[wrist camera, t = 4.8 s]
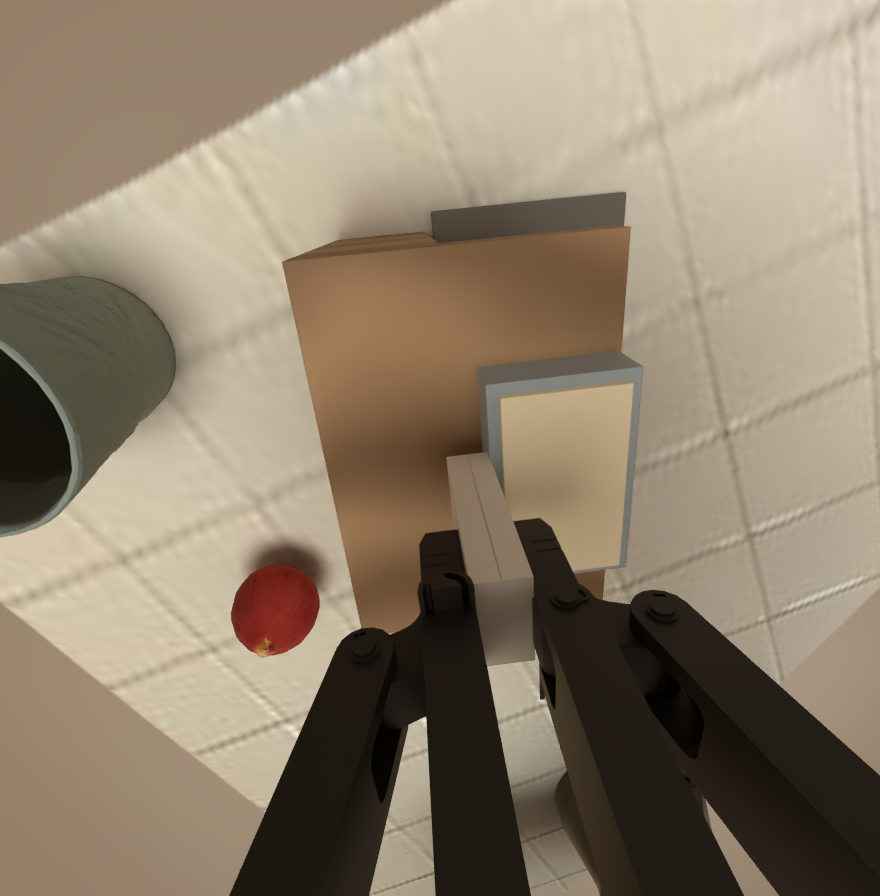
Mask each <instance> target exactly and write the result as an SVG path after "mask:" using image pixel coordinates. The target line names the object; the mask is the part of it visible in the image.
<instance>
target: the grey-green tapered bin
mask: <svg viewBox="0 0 880 896" xmlns="http://www.w3.org/2000/svg"><path fill="white" fill-rule="evenodd" d="M174 375H175V350H174V348H173V345H172V343H171V340H170V338H169V335H168V333H167V331H166V330H165V329H164V327H163V323H162V322H161V320H160V319H159V318H157V317H156V316H154V314H153V311H152V310H151V309H149V308H148V307H147V306H146V305H145V304H144V303H143V302H141V301H140V300H139V299H137V298H136V297H134V296H133V295H131V294H130V293H128V292H126V291H125V290H123V289H121V288H119V287H117V286H115V285H113V284H110V283H107V282H105V281H101V280H97V279H92V278H85V277H67V278H56V279H49V280H44V281H37V282H29V283H11V284H0V537H6V536H11V535H17V534H20V533H23V532H26V531H29V530H32V529H35V528H38V527H40V526H42V525H44V524H46V523H48V522H49V521H51V520H52V519H53V518H55V517H56V516H57V515H59V514H60V513H61V512H62V511H63V510H64V508H65V507H66V506H67V505H68V504H69V503H70V502H71V501H72V500H73V499H74V497H75V496H76V495H77V494H78V493H79V492H80V491H81V489H82V488H83V487H84V486H85V485H86V484H87V483H88V481H89V480H90V479H91V478H92V477H93V476H94V474H95V473H96V472H97V470H98V468H99V467H101V465H102V464H103V463H104V462H105V461H106V460H107V459H108V458H109V456H110V455H111V454H112V453H113V452H115V451H116V450H117V449H118V448H119V447H120V446H121V445H122V444H123V443H124V441H125V440H126V439H127V438H128V437H129V436H130V435H131V434H132V433H133V432H134V430H135V428H136V426H137V425H138V422H140V421H142V420H143V419H145V418H146V417H148V415H149V414H150V413H151V412H152V411H153V410H154V409H155V408H156V406H157V405H158V404H159V403H160V402H161V401H162V400H163V399H164V397H165V396H166V395H167V393H168V391H169V389H170V387H171V385H172V382H173V378H174Z"/></svg>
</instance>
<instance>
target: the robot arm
mask: <svg viewBox="0 0 880 896" xmlns="http://www.w3.org/2000/svg"><path fill="white" fill-rule="evenodd" d="M446 459H447V469H448V478H449V488H450V498H451V507H452V517H453V525H454V530H447V531H438V532H430V533H425V535H424V537H423V538H422V540H421V542H420V544H419V551H420V570H421V582H420V583H419V586H418V591H417V593H418V600H419V606H420V614H419V616H418V617H417V619H416V620H415V621H414V622H413V623H412V624H411V625H409V626H408V627H406V628H404V629H402V630H400V631H398V632H396V633H393V634H391V635H389V634H388V633H387V632H385V631H384V630H383V629H378V628H374V627H370V628H362V629H359V630H357V631H354V632H352V633H350V634H349V635H348V636H346V637H345V638H344V639H343V640H342V641H341V643H340V644H339V646H338V647H337V649H336V651H335V653H334V656H333V658H332V660H331V663H330V665H329V667H328V670H327V672H326V674H325V677H324V679H323V681H322V683H321V686H320V688H319V690H318V693H317V695H316V697H315V700H314V702H313V704H312V706H311V709H310V711H309V713H308V716H307V718H306V720H305V723H304V725H303V727H302V729H301V732H300V734H299V736H298V739H297V741H296V743H295V746H294V748H293V750H292V752H291V755H290V757H289V759H288V762H287V764H286V766H285V769H284V771H283V773H282V775H281V778H280V780H279V782H278V785H277V787H276V789H275V792H274V794H273V796H272V798H271V801H270V803H269V805H268V808H267V810H266V812H265V815H264V817H263V819H262V822H261V824H260V827H259V828H258V831H257V833H256V835H255V838H254V840H253V842H252V845H251V847H250V849H249V851H248V854H247V856H246V858H245V861H244V863H243V865H242V868H241V870H240V872H239V874H238V877H237V879H236V881H235V884H234V886H233V889H232V891H231V893H230V895H229V896H369V893H370V889H371V885H372V880H373V876H374V872H375V868H376V863H377V859H378V855H379V850H380V846H381V842H382V838H383V833H384V829H385V825H386V820H387V816H388V812H389V808H390V803H391V799H392V795H393V790H394V786H395V782H396V778H397V773H398V769H399V765H400V760H401V756H402V752H403V748H404V743H405V739H406V735H407V730H408V725H409V724H411V723H413V722H415V721H417V720H419V719H421V718H423V717H425V716H426V718H427V737H428V757H429V776H430V795H431V814H432V834H433V853H434V872H435V892H436V896H531V894H530V889H529V883H528V878H527V873H526V868H525V862H524V857H523V852H522V847H521V842H520V836H519V831H518V826H517V821H516V816H515V810H514V805H513V800H512V795H511V789H510V784H509V779H508V774H507V769H506V763H505V758H504V753H503V748H502V742H501V737H500V732H499V727H498V722H497V716H496V711H495V706H494V701H493V696H492V690H491V685H490V680H489V675H488V669H487V666H491V665H499V664H507V663H515V662H523V661H530V660H535V650H536V653H537V656H538V659H539V672H540V700H542V699H545V697H546V701H547V704H548V707H549V711H550V714H551V717H552V721H553V724H554V728H555V731H556V734H557V738H558V741H559V744H560V748H561V751H562V754H563V758H564V761H565V765H566V768H567V771H568V773H567V774H566V775H565V776H564V777H563V779H562V780H561V782H560V784H559V786H558V788H557V792H556V803H557V806H558V810H559V814H560V818H561V821H562V824H563V827H564V829H565V831H566V833H567V835H568V836H569V838H570V840H571V842H572V843H573V845H574V847H575V849H576V850H577V852H578V854H579V855H580V857H581V859H582V861H583V862H584V864H585V866H586V868H587V869H588V871H589V873H590V874H591V876H592V878H593V880H594V882H595V883H596V885H597V888H598V890H599V893H600V896H744V895H743V893H742V891H741V889H740V887H739V885H738V883H737V881H736V879H735V877H734V875H733V873H732V871H731V869H730V867H729V865H728V863H727V861H726V859H725V857H724V855H723V853H722V851H721V849H720V847H719V845H718V843H717V841H716V839H715V837H714V835H713V833H712V829H711V824H710V819H709V815H708V810H707V806H706V801H705V799H706V800H707V801H708V803H709V804H710V805H711V807H712V808H713V809H714V811H715V812H716V813H717V815H718V816H719V817H720V819H721V820H722V821H723V822H724V824H725V825H726V826H727V828H728V829H729V830H730V832H731V833H732V834H733V836H734V837H735V838H736V840H737V841H738V842H739V843H740V845H741V846H742V847H743V849H744V850H745V851H746V853H747V854H748V855H749V857H750V858H751V859H752V860H753V862H754V863H755V864H756V866H757V867H758V868H759V870H760V871H761V872H762V874H763V875H764V876H765V878H766V879H767V880H768V881H769V883H770V884H771V885H772V887H773V888H774V889H775V891H776V892H777V893H778V894H779V896H880V775H878V774H877V773H876V772H875V771H874V770H873V769H872V768H871V767H870V766H868V765H867V764H866V763H865V762H864V761H863V760H862V759H861V758H859V757H858V756H857V755H856V754H855V753H854V752H853V751H852V750H851V749H849V748H848V747H847V746H846V745H845V744H844V743H843V742H842V741H841V740H839V739H838V738H837V737H836V736H835V735H834V734H833V733H832V732H830V731H829V730H828V729H827V728H826V727H825V726H824V725H823V724H822V723H820V722H819V721H818V720H817V719H816V718H815V717H814V716H813V715H812V714H810V713H809V712H808V711H807V710H806V709H805V708H804V707H803V706H801V705H800V704H799V703H798V702H797V701H796V700H795V699H794V698H793V697H791V696H790V695H789V694H788V693H787V692H786V691H785V690H784V689H783V688H781V687H780V686H779V685H778V684H777V683H776V682H775V681H774V680H773V679H771V678H770V677H769V676H768V675H767V674H766V673H765V672H764V671H762V670H761V669H760V668H759V667H758V666H757V665H756V664H755V663H754V662H752V661H751V660H750V659H749V658H748V657H747V656H746V655H745V654H743V653H742V652H741V651H740V650H739V649H738V648H737V647H736V646H735V645H733V644H732V643H731V642H730V641H729V640H728V639H727V638H726V637H725V636H723V635H722V634H721V633H720V632H719V631H718V630H717V629H716V628H714V627H713V626H712V625H711V624H710V623H709V622H708V621H707V620H706V619H704V618H703V617H702V616H701V615H700V614H699V613H698V612H697V611H696V610H694V609H693V608H692V607H691V606H690V605H689V604H688V603H687V602H685V601H684V600H682V599H681V598H679V597H678V596H676V595H674V594H671V593H668V592H665V591H658V590H649V591H643V592H641V593H639V594H637V595H636V596H634V598H633V600H632V602H631V604H623V603H615V602H609V601H604V600H601V599H598V598H595V597H594V596H593V595H592V593H591V592H590V591H589V590H588V589H587V588H586V587H584V586H582V585H581V584H579V583H578V581H577V579H576V577H575V575H574V573H573V571H572V568H571V566H570V564H569V562H568V560H567V558H566V556H565V554H564V552H563V550H562V549H561V546H560V544H559V542H558V540H557V537H556V535H555V533H554V531H553V529H552V527H551V526H550V525H548V524H547V523H546V522H545V521H543V520H542V519H541V518H535V519H527V520H518V521H513V519H512V517H511V514H510V511H509V508H508V506H507V503H506V500H505V497H504V495H503V492H502V489H501V487H500V484H499V481H498V478H497V476H496V473H495V470H494V467H493V465H492V462H491V461H490V459H489V456H488V453H487V452H484V453H475V454H467V455H459V456H450V457H446Z"/></svg>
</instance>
